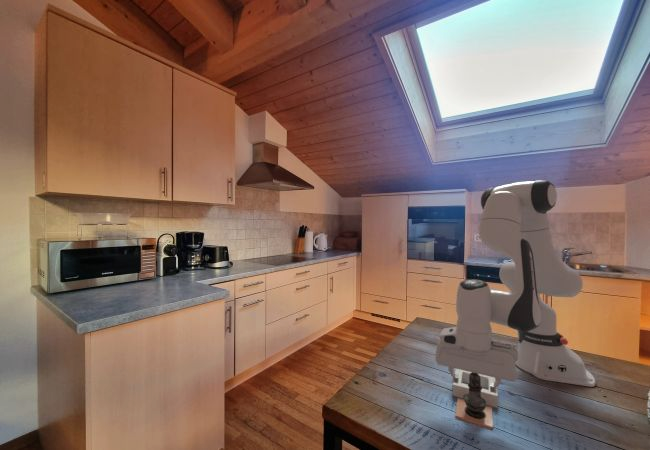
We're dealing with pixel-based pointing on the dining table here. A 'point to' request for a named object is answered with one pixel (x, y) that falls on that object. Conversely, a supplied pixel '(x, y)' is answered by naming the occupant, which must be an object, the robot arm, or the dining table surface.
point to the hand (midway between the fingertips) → (473, 386)
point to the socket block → (485, 381)
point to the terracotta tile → (464, 416)
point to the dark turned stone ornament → (475, 398)
